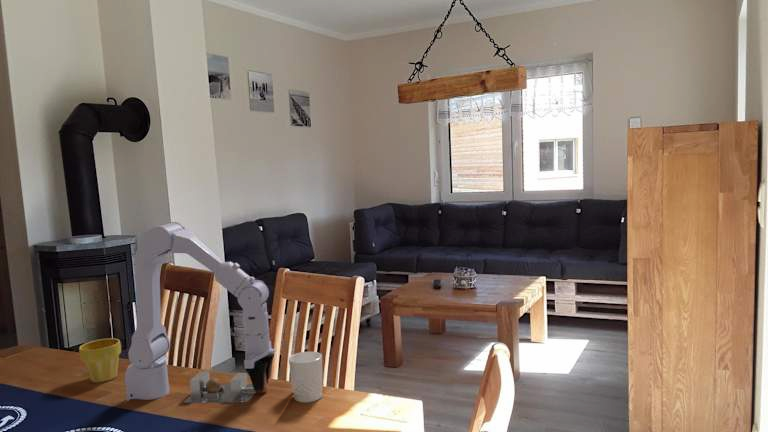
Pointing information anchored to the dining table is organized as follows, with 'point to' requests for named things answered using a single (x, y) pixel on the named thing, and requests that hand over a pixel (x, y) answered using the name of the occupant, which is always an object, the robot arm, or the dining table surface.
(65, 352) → the dining table surface
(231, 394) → the bench
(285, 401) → the dining table surface
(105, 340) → the plant pot
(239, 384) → the ram handle
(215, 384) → the nut
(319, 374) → the white cup
